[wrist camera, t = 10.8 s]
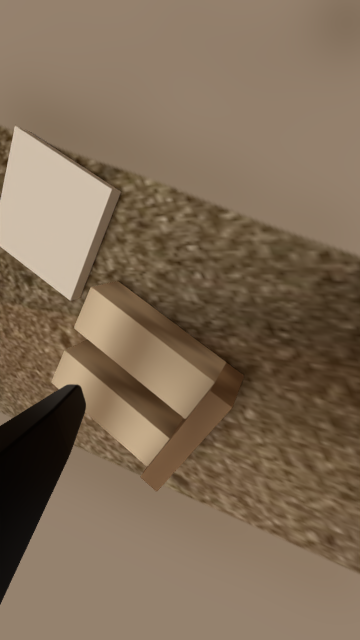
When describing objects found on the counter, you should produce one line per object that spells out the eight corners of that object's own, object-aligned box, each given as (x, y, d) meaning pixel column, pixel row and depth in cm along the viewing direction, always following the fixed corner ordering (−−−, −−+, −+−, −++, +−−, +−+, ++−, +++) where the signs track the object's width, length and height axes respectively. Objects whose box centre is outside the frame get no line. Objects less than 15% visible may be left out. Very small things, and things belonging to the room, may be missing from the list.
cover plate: (125, 193, 19) (34, 133, 20) (111, 189, 18) (15, 125, 19) (84, 296, 23) (10, 240, 24) (70, 300, 21) (-8, 240, 23)
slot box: (244, 375, 19) (232, 407, 15) (178, 452, 23) (156, 491, 19) (117, 280, 20) (80, 289, 17) (78, 366, 24) (40, 388, 21)
